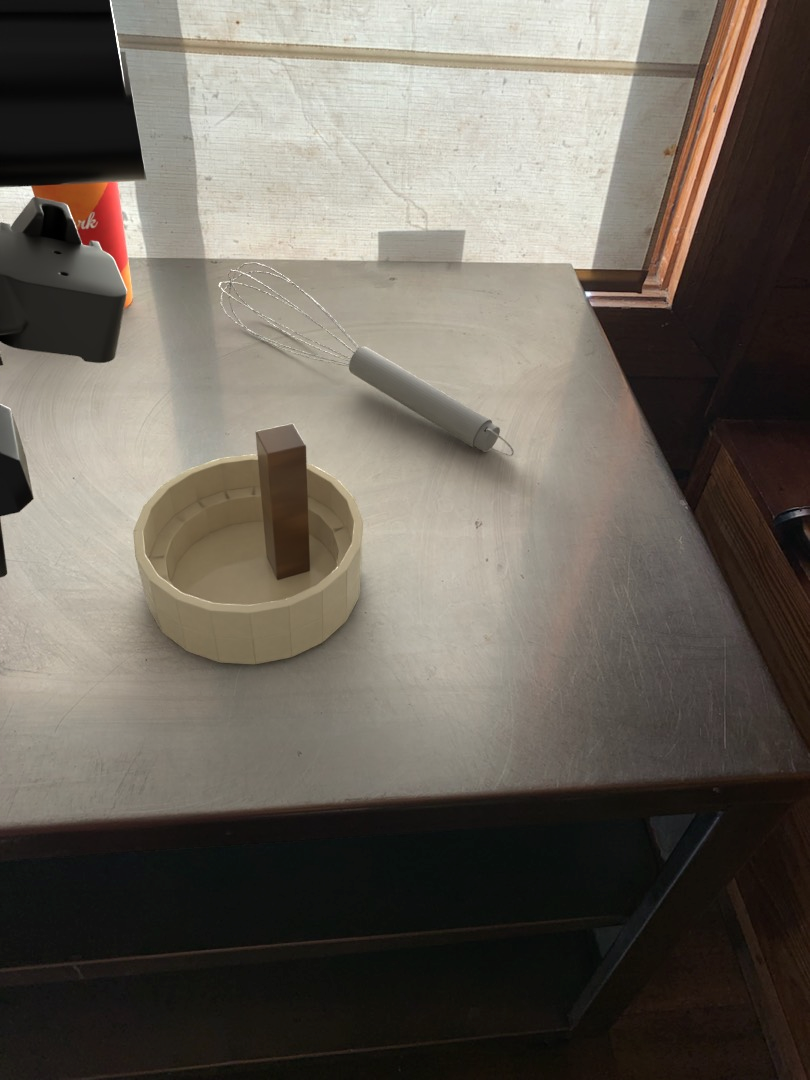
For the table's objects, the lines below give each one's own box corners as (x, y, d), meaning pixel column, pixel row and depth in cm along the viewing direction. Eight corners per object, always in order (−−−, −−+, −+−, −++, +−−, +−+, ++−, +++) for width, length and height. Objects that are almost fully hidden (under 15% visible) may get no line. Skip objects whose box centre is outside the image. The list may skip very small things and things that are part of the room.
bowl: (156, 689, 47) (140, 632, 44) (142, 528, 57) (128, 470, 53) (383, 644, 51) (387, 588, 47) (335, 499, 60) (334, 443, 56)
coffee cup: (39, 305, 78) (-8, 144, 67) (99, 273, 83) (64, 118, 72) (105, 330, 75) (67, 167, 64) (162, 295, 80) (136, 138, 70)
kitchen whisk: (490, 481, 63) (502, 416, 59) (208, 326, 77) (200, 265, 73) (531, 447, 66) (545, 383, 62) (254, 305, 81) (249, 245, 76)
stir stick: (277, 580, 54) (267, 454, 46) (266, 557, 55) (255, 430, 47) (310, 571, 54) (306, 445, 47) (299, 548, 56) (293, 422, 48)
